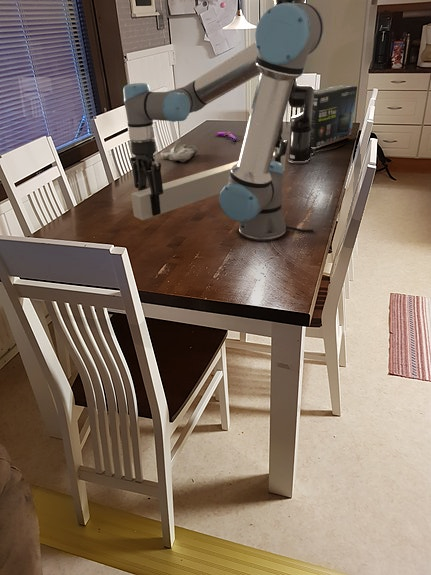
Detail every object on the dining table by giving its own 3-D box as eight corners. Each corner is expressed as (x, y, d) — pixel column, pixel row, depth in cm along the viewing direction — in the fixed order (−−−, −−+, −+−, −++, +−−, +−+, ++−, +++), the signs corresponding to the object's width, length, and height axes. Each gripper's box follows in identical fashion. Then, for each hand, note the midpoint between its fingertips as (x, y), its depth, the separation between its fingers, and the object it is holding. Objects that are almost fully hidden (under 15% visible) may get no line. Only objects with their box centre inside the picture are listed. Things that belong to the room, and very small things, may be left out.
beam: (142, 220, 146) (139, 197, 142) (133, 216, 149) (130, 193, 145) (285, 170, 185) (285, 151, 181) (275, 168, 188) (276, 149, 184)
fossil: (184, 156, 217) (163, 136, 220) (174, 174, 223) (154, 154, 227) (205, 153, 231) (186, 134, 234) (195, 171, 237) (176, 152, 240)
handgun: (216, 135, 269) (216, 131, 268) (229, 133, 270) (229, 130, 269) (224, 143, 252) (224, 139, 251) (237, 141, 253) (237, 138, 252)
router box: (314, 151, 231) (318, 94, 217) (296, 148, 237) (299, 92, 224) (352, 138, 251) (358, 85, 238) (335, 135, 258) (340, 83, 245)
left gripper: (170, 141, 134) (177, 216, 146) (136, 133, 146) (145, 202, 158) (149, 146, 130) (158, 222, 142) (116, 137, 142) (126, 208, 154)
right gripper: (294, 120, 170) (292, 166, 179) (265, 116, 180) (265, 159, 188) (280, 124, 166) (279, 170, 175) (252, 119, 175) (252, 163, 184)
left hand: (151, 212), depth 150 cm, fingers closed on beam, 5 cm apart
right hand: (271, 164), depth 182 cm, fingers closed on beam, 5 cm apart
